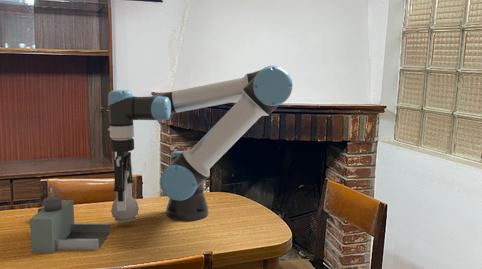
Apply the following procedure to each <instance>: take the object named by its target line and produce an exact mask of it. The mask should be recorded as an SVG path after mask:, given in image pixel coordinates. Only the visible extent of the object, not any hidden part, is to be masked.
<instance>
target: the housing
mask: <svg viewBox="0 0 482 269" xmlns="http://www.w3.org/2000/svg"><path fill="white" fill-rule="evenodd" d="M43 207H44V208H43ZM43 207H42V208H43V209H42V210H41V211H39V212H38V211H37V213H35V214H34V215H33V216H31V217H30V218H29V226H30V228H29V230H30V231H29V232H30V245H31V246H30V247H31V253H32V254H54V253H55V252H56V251H57V250H56V243H55V240H56V239H65V238H66V237H67V236H68V235H69V234H70V233H71V224H72V223H75V211H74V210H75V208H74V200H73V199H62V197H61V196H49V197H46V198H43Z"/></svg>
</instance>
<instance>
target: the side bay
mask: <svg viewBox="0 0 482 269" xmlns="http://www.w3.org/2000/svg"><path fill="white" fill-rule="evenodd" d="M110 234H111V223H110V222H108V223H107V222H106V223H105V222H104V223H103V222H102V223H101V222H99V223H98V222H97V223H96V222H90V223H89V222H87V223H86V222H74V223H72V224H71V233H70V234H69V235H68V236H67V237H66V238H65V239H56V240H55V243H56V250H55V251H99V249H100V248H101V246H102V245H103V244H104V242H105V241H106V239H108V238H107V237H108V236H109V235H110Z"/></svg>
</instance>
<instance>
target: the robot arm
mask: <svg viewBox="0 0 482 269" xmlns="http://www.w3.org/2000/svg"><path fill="white" fill-rule="evenodd" d="M292 80H293V79H292V78H291V75H290V74H289V73H288V71H287V70H285V69H284V68H283V67H280V66H278V65H269V66H265V67H264V68H262V69H259V70H257V71H256V70H255V71H253V72H250V73H246V74H245V75H244V76H243V77H240V78H234V79H229V80H224V81H219V82H214V83H208V84H204V85H198V86H193V87H188V88H184V89H183V88H182V89H179V90H178V89H177V90H173V91H169V92H162V93H160V92H159V93H157V94H155V95H150V96H134V95H133V92H132V91H131V90H130V89H129V90H125V89H124V90H123V89H118V90H115V89H114V90H110V91H109V93H108V97H107V101H108V102H107V103H108V104H107V107H108V108H107V109H108V122H109V123H108V126H109V127H108V128H107V132H108V131H109V137H110V138H111V139H110V140H109V147H110V148H109V149H110V151H112V152H114V153H116V156H115V159H113V166H114V169H113V171H114V172H113V173H114V178H113V179H114V185H113V186H114V189H113V192H115V194H116V198H117V211H126V191H125V171H126V170H127V171H129V177H128V178H127V188H128V196H132V184H134V179H133V169H132V168H133V167H132V153H131V152H132V151H133V150H135V139H134V136H135V132H134V131H135V130H134V121H157V122H158V121H167V120H169V119H170V118H171V115H172V114H176V113H182V112H183V113H184V112H187V111H193V110H199V109H204V108H208V107H215V106H219V105H225V104H230V103H235V104H234V105H233V106H232V107H231V108H230V109H229V110H227V112H226V113H225V114H224V115H223V116H222V117H221V118H220V119H219V120H218V121H217V122H216V123H215V125H213V126H212V127H211V128H210V129H209V131H207V133H206V134H205V135H204V136H203V137H202V138H201V139H200V140H199V141H198V142H197V143H196V144H195V145H193V147H192V148H191V149H189V150H188V149H184V150H176V151H172V152H171V153H170V158H169V159H170V164H169V165H168V166H167V167H166V168H164V169H163V171H162V173H161V176H160V177H159V178H160V180H159V183H160V188H161V191H162V192H163V193H164V195H165V196H166V197H167V198H168V203H167V205H166V211H165V212H166V217H167V218H169V219H170V220H171V219H172V220H175V221H180V222H181V221H183V222H184V221H186V222H187V221H198V220H201V219H202V220H203V219H205V218H207V216H208V215H209V206H208V202H207V199H206V195H205V192H204V191H205V189H204V188H205V187H204V186H205V185H204V184H205V183H204V182H205V181H206V180H207V179H208V178H209V176H210V175H211V174H210V173H211V172H210V170H211V168H212V167H213V166H214V165H215V163H217V162H218V161H219V160H220V159H221V158H222V157H223V155H225V154H226V153H227V152H228V151H229V150H230V149H231V148H232V147H233V145H235V143H236V142H238V140H240V138H242V137H243V135H245V134H246V133H247V131H248V130H249V129H250V128H251V127H252V126H254V125H255V123H257V121H258V120H259V119H260V118H261V117H264V116H265V117H266V116H270V115H271V114H272V112H274V111H275V110H276V109H277V108H278V107H279V106H281V105H282V104H283V103H285V102H286V101H287V100H288V99H289V98H290V96H291V94H292V91H293V81H292ZM132 197H133V196H132Z"/></svg>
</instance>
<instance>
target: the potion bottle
mask: <svg viewBox="0 0 482 269" xmlns="http://www.w3.org/2000/svg"><path fill="white" fill-rule="evenodd" d="M128 177H129V171H127V170H126V171H125V191H126V211H117V197H115V199H114V200H113V203H112V204H111V205H112V206H111V210H110V213H111V216H112V218H114V222H118V223H128V222H129V223H130V222H133V221H134V220H136V219H137V217H136V216H138V214H139V205H138V202H137V200H136V199H135V198H134V196H128V188H127V178H128Z"/></svg>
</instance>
